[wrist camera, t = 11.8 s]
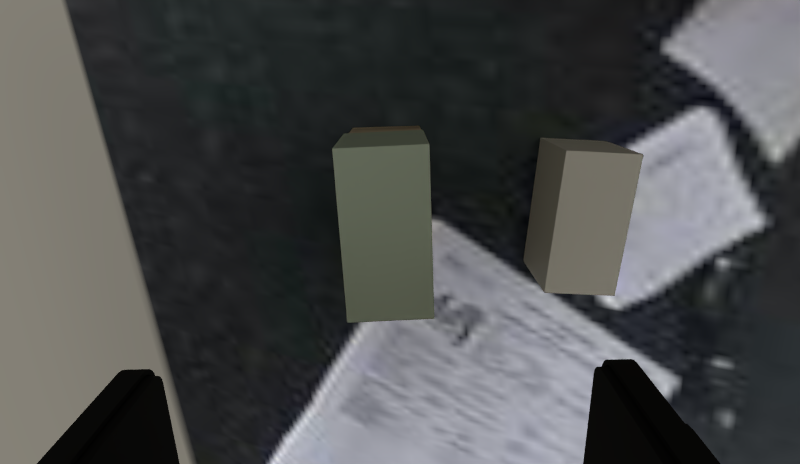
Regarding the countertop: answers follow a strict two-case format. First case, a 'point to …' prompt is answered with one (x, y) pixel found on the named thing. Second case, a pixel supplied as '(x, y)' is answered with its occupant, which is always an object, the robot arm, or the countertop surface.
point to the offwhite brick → (580, 215)
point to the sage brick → (385, 225)
